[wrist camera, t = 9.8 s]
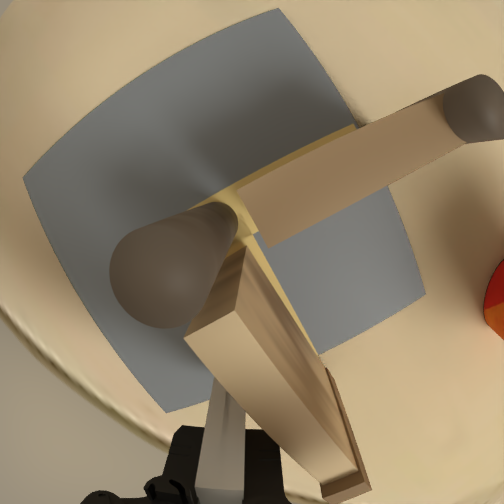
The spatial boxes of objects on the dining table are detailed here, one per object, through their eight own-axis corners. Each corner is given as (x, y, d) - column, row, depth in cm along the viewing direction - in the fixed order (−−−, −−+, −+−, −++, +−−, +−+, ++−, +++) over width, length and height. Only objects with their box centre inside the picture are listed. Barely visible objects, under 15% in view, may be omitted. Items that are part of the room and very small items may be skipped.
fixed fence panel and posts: (188, 214, 13) (92, 258, 5) (373, 119, 12) (489, 63, 4) (209, 251, 14) (145, 342, 5) (392, 155, 13) (521, 137, 4)
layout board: (25, 177, 13) (21, 177, 13) (278, 10, 11) (278, 7, 11) (167, 410, 16) (165, 413, 16) (423, 292, 14) (426, 294, 14)
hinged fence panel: (218, 262, 13) (173, 353, 6) (248, 244, 13) (236, 320, 6) (308, 392, 15) (332, 505, 7) (334, 379, 14) (371, 489, 7)
